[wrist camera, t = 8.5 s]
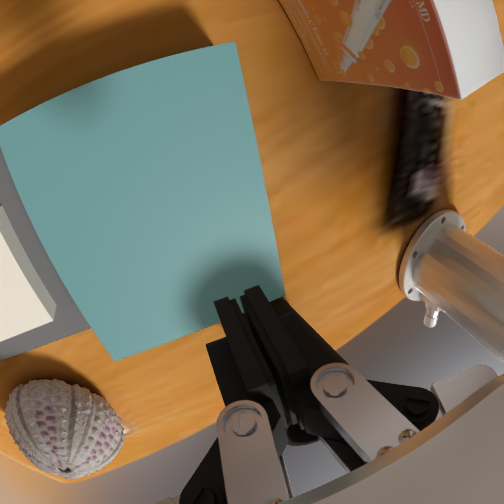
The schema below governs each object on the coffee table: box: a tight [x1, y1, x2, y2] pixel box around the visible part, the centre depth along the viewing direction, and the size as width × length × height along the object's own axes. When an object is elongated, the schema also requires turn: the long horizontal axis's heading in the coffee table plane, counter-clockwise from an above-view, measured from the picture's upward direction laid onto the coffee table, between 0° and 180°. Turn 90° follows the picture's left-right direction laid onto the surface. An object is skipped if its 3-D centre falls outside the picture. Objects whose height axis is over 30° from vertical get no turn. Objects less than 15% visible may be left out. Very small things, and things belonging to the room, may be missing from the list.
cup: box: [243, 299, 349, 446], centre depth 26 cm, size 8×8×12 cm
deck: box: [0, 42, 285, 361], centre depth 20 cm, size 18×14×4 cm
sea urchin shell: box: [4, 379, 126, 479], centre depth 24 cm, size 13×14×8 cm
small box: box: [279, 0, 504, 99], centre depth 14 cm, size 8×6×13 cm
